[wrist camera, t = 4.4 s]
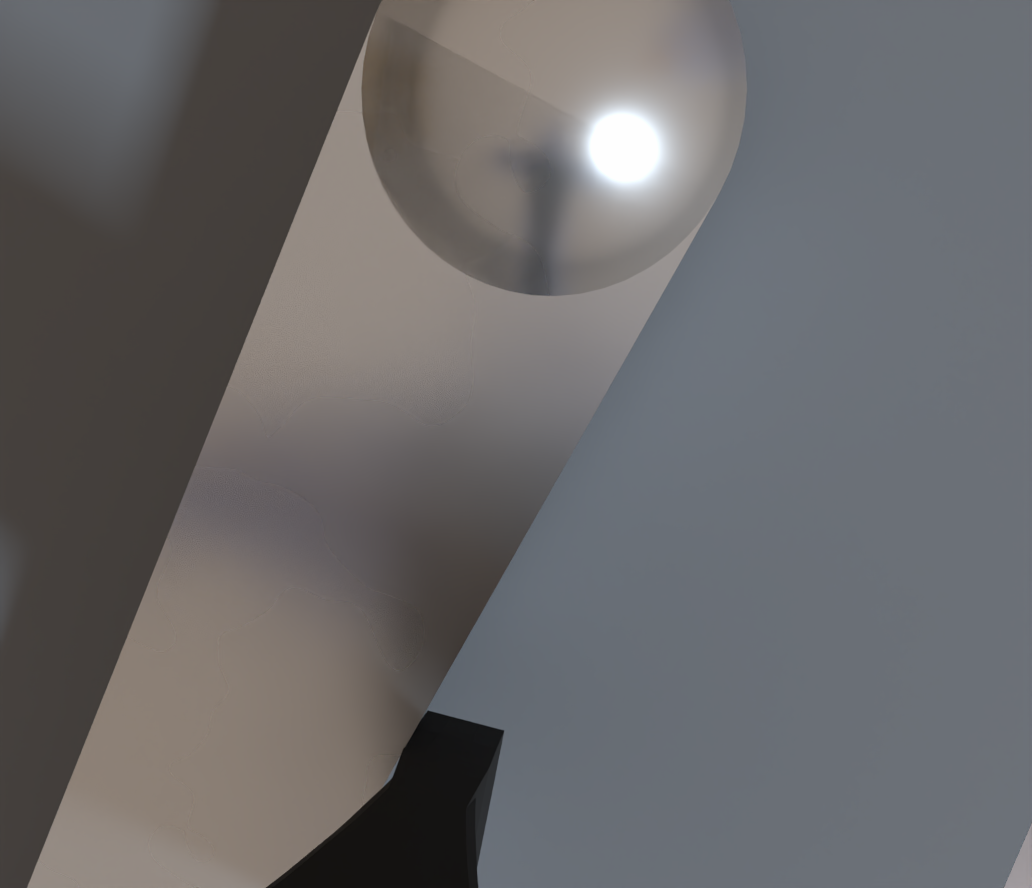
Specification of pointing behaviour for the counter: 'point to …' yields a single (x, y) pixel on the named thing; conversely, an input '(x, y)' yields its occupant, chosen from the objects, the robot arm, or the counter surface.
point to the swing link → (397, 418)
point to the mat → (585, 443)
